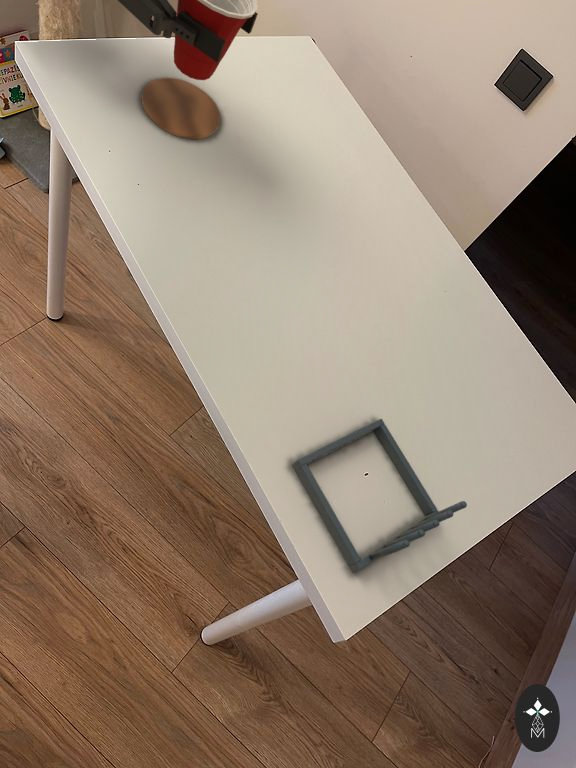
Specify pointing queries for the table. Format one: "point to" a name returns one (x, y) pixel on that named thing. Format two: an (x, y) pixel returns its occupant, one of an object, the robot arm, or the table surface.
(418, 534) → the grey square frame
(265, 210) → the table surface
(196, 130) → the wooden coaster
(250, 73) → the table surface
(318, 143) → the table surface
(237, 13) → the plastic cup
